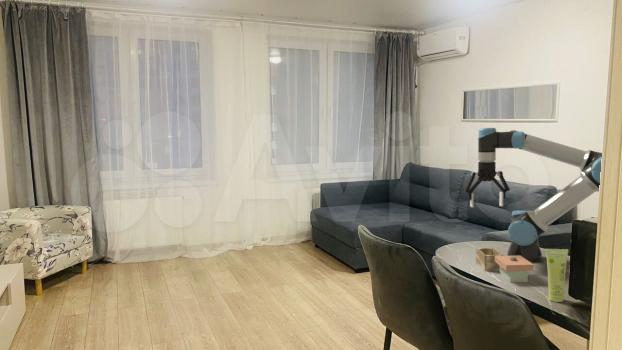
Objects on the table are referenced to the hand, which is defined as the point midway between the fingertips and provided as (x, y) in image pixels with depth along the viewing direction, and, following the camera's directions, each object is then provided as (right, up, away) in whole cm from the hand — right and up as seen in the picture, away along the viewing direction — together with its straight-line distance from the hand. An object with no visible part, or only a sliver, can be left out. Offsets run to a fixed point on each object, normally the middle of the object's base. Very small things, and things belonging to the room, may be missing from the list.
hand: (486, 206), depth 213 cm
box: (0, -27, -4) cm, 28 cm away
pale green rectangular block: (+4, -29, -19) cm, 35 cm away
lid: (+4, -24, -20) cm, 31 cm away
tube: (+8, -32, -44) cm, 55 cm away
